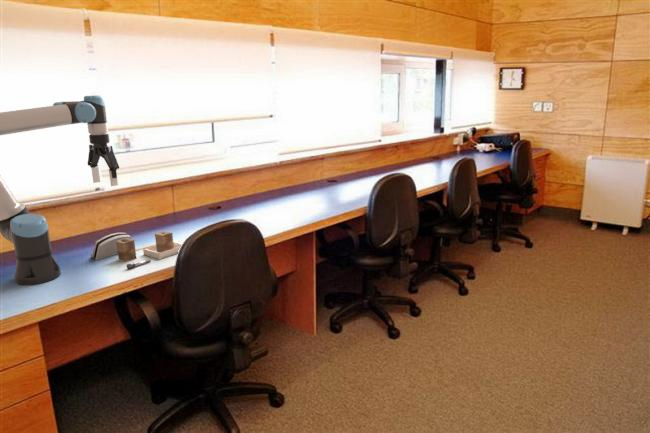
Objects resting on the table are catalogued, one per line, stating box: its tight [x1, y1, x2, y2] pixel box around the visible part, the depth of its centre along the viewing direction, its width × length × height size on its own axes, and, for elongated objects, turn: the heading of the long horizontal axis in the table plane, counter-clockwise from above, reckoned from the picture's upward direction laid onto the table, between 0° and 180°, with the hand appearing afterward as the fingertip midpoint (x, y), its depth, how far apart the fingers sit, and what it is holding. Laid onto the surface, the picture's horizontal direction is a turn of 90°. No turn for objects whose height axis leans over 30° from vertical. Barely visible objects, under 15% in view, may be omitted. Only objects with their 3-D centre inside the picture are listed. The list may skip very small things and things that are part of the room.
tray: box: [142, 240, 183, 260], centre depth 215 cm, size 14×11×3 cm
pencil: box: [135, 243, 156, 252], centre depth 223 cm, size 1×18×1 cm, turn 138°
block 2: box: [154, 230, 174, 252], centre depth 215 cm, size 5×5×8 cm
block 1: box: [116, 238, 137, 263], centre depth 208 cm, size 5×5×8 cm
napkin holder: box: [90, 232, 132, 261], centre depth 214 cm, size 17×5×10 cm, turn 147°
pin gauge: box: [126, 259, 151, 270], centre depth 201 cm, size 10×2×2 cm, turn 143°
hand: (105, 184), depth 216 cm, fingers open, 13 cm apart
